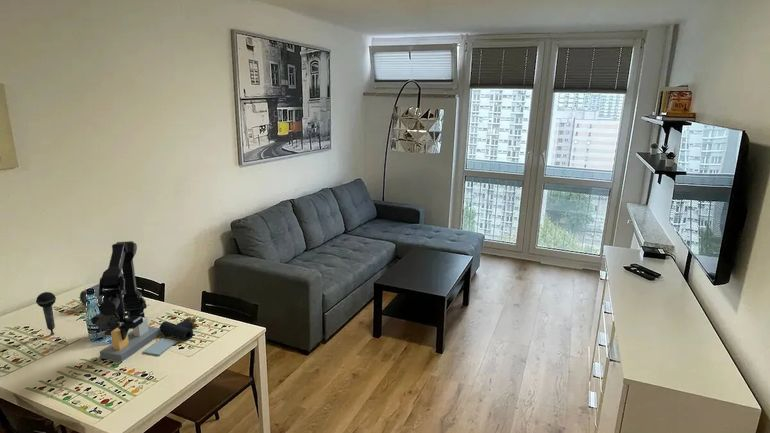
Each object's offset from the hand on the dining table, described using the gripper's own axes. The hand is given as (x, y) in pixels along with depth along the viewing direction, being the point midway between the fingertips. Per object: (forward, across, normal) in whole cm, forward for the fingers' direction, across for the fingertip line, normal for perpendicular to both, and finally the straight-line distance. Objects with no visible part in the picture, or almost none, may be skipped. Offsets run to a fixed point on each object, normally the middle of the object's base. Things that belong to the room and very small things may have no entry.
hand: (120, 339), depth 178 cm
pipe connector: (+7, +14, +20) cm, 25 cm away
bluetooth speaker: (+6, -42, +41) cm, 59 cm away
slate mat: (+6, +12, +7) cm, 15 cm away
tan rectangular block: (+5, 0, 0) cm, 5 cm away
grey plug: (+6, +1, +11) cm, 13 cm away
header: (+6, 0, +6) cm, 8 cm away
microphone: (+6, -39, +6) cm, 40 cm away
